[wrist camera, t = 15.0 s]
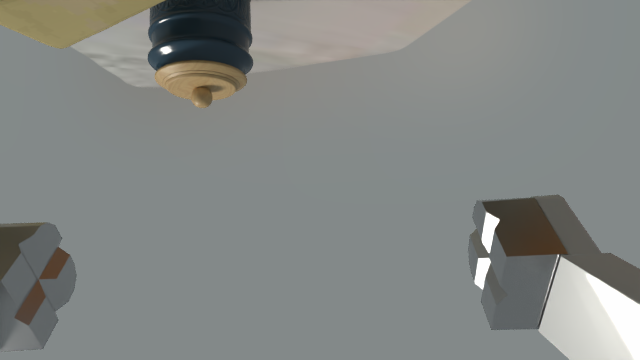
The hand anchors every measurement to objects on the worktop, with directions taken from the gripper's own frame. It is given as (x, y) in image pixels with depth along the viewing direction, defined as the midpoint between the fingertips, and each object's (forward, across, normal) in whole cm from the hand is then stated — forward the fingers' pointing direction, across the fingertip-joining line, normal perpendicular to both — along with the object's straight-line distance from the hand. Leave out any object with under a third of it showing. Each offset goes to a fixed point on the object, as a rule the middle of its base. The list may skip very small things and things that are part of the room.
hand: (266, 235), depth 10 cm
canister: (+61, -15, -8) cm, 64 cm away
